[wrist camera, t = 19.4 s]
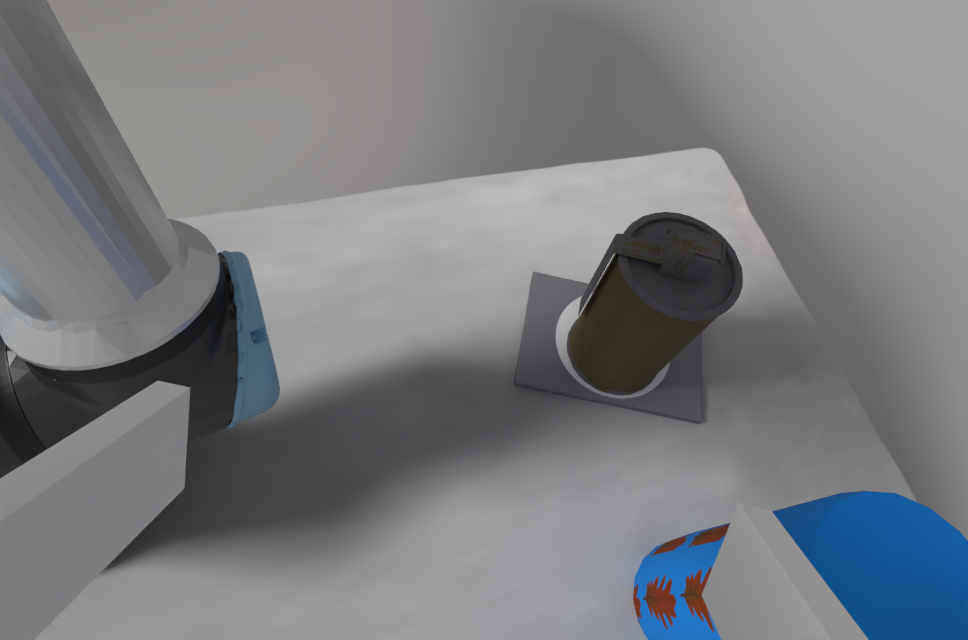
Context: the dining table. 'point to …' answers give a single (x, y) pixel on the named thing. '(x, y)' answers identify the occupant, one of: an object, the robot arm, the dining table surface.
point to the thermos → (830, 569)
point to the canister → (651, 300)
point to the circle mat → (553, 371)
